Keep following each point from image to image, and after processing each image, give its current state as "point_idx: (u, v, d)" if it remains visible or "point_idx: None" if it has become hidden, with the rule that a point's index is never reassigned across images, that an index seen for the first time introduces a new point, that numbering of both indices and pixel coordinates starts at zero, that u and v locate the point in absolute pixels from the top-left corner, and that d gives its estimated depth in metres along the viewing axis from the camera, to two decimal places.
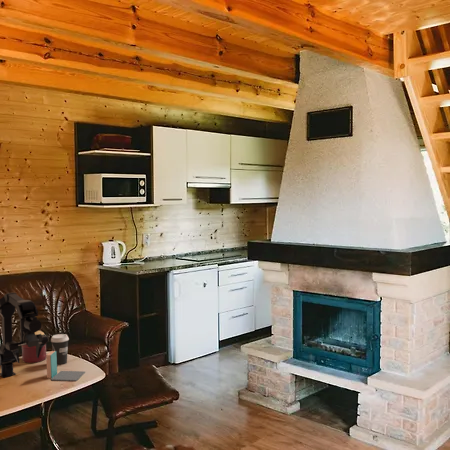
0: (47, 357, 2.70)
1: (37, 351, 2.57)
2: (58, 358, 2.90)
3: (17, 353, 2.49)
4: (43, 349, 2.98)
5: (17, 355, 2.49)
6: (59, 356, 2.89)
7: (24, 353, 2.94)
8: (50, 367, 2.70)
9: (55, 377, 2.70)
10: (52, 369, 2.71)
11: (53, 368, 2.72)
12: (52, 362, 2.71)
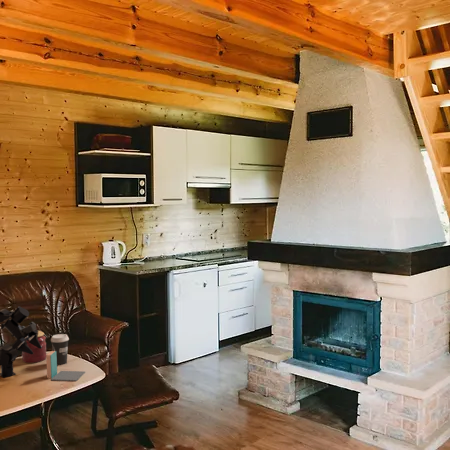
0: (47, 357, 2.70)
1: (36, 343, 2.78)
2: (58, 358, 2.90)
3: (27, 345, 2.68)
4: (43, 349, 2.98)
5: (28, 347, 2.68)
6: (59, 356, 2.89)
7: (24, 353, 2.94)
8: (50, 367, 2.70)
9: (55, 377, 2.70)
10: (52, 369, 2.71)
11: (53, 368, 2.72)
12: (52, 362, 2.71)
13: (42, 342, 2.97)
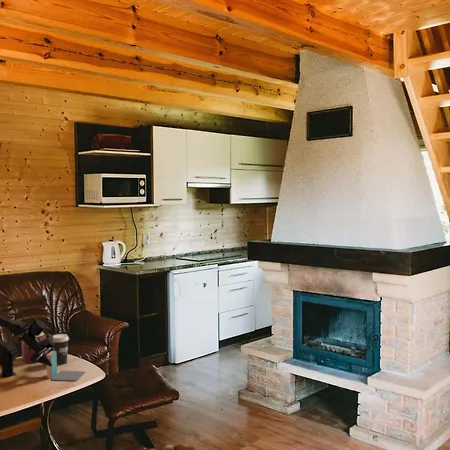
0: (47, 357, 2.70)
1: None
2: (58, 358, 2.90)
3: (45, 357, 2.69)
4: None
5: (47, 359, 2.69)
6: (59, 356, 2.89)
7: (24, 353, 2.94)
8: (50, 367, 2.70)
9: (55, 377, 2.70)
10: (52, 369, 2.71)
11: (53, 368, 2.72)
12: (52, 362, 2.71)
13: None
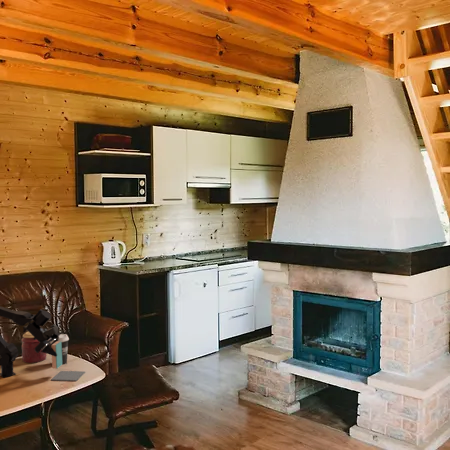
0: (52, 347, 2.69)
1: None
2: None
3: (51, 347, 2.68)
4: None
5: (52, 349, 2.68)
6: None
7: (24, 353, 2.94)
8: (55, 357, 2.69)
9: (55, 377, 2.70)
10: (57, 359, 2.70)
11: (58, 358, 2.72)
12: (57, 352, 2.70)
13: None
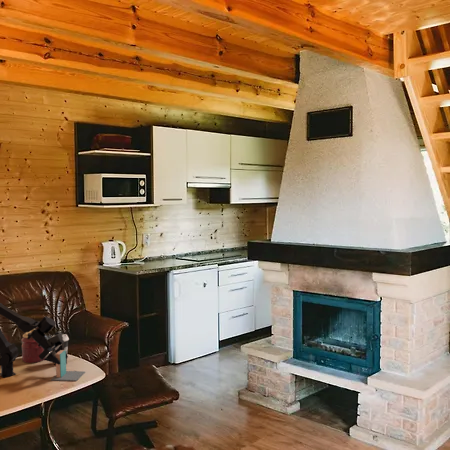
0: (56, 356, 2.69)
1: None
2: None
3: (54, 355, 2.67)
4: (43, 349, 2.98)
5: (55, 357, 2.67)
6: None
7: (24, 353, 2.94)
8: (59, 366, 2.69)
9: (55, 377, 2.70)
10: (61, 368, 2.71)
11: (62, 367, 2.72)
12: (61, 361, 2.71)
13: None
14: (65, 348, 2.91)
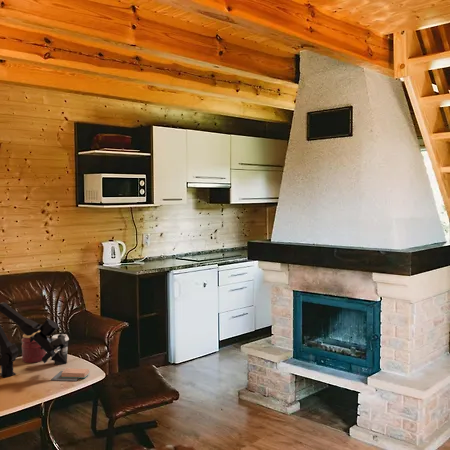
0: (82, 374, 2.69)
1: None
2: None
3: (60, 355, 2.71)
4: (43, 349, 2.98)
5: (61, 357, 2.71)
6: None
7: (24, 353, 2.94)
8: (72, 376, 2.69)
9: (55, 377, 2.70)
10: None
11: None
12: None
13: None
14: (65, 348, 2.91)
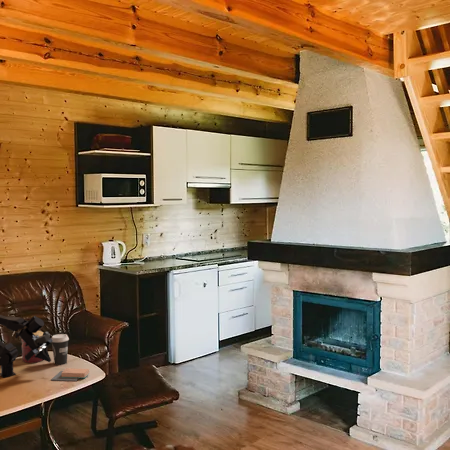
0: (82, 374, 2.69)
1: None
2: (58, 358, 2.90)
3: (44, 353, 2.72)
4: None
5: (45, 355, 2.72)
6: (59, 356, 2.89)
7: (24, 353, 2.94)
8: (72, 376, 2.69)
9: (55, 377, 2.70)
10: None
11: None
12: None
13: None
14: (65, 348, 2.91)
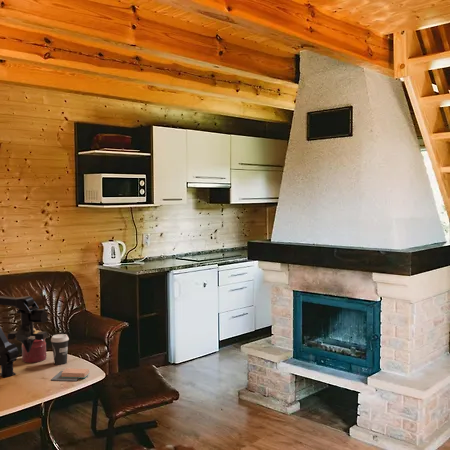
0: (82, 374, 2.69)
1: None
2: (58, 358, 2.90)
3: (24, 343, 2.70)
4: (43, 349, 2.98)
5: (25, 345, 2.70)
6: (59, 356, 2.89)
7: (24, 353, 2.94)
8: (72, 376, 2.69)
9: (55, 377, 2.70)
10: None
11: None
12: None
13: (42, 342, 2.97)
14: (65, 348, 2.91)
